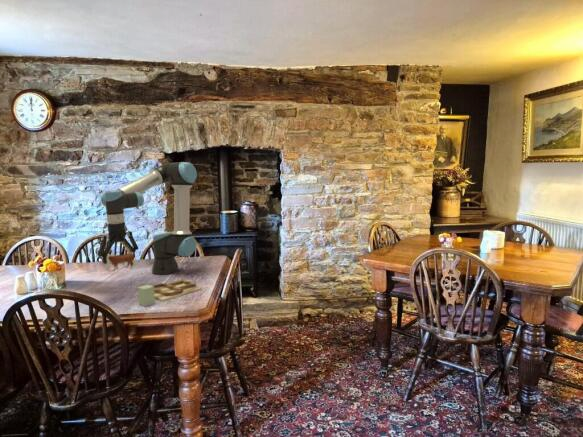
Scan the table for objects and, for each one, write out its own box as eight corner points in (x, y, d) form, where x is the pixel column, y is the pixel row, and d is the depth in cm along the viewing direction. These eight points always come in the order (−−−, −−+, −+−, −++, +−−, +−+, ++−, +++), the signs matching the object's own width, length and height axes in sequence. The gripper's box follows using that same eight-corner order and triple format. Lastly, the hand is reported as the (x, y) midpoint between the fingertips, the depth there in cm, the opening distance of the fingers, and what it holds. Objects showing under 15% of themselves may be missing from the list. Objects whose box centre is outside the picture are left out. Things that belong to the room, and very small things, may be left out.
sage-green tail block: (139, 304, 180) (137, 287, 178) (149, 301, 183) (148, 284, 182) (144, 306, 176) (143, 289, 175) (154, 303, 180) (153, 286, 179)
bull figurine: (105, 269, 190) (103, 253, 188) (135, 266, 194) (133, 250, 193) (104, 272, 185) (102, 255, 184) (134, 268, 190) (133, 252, 189)
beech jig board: (140, 293, 195) (140, 288, 195) (179, 282, 212) (179, 278, 211) (162, 301, 182) (162, 296, 182) (201, 289, 199) (201, 284, 198)
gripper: (93, 226, 175) (98, 274, 178) (143, 220, 193) (147, 263, 196) (86, 225, 180) (91, 271, 183) (136, 218, 198) (139, 261, 201)
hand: (120, 267), depth 190 cm, fingers closed on bull figurine, 11 cm apart
